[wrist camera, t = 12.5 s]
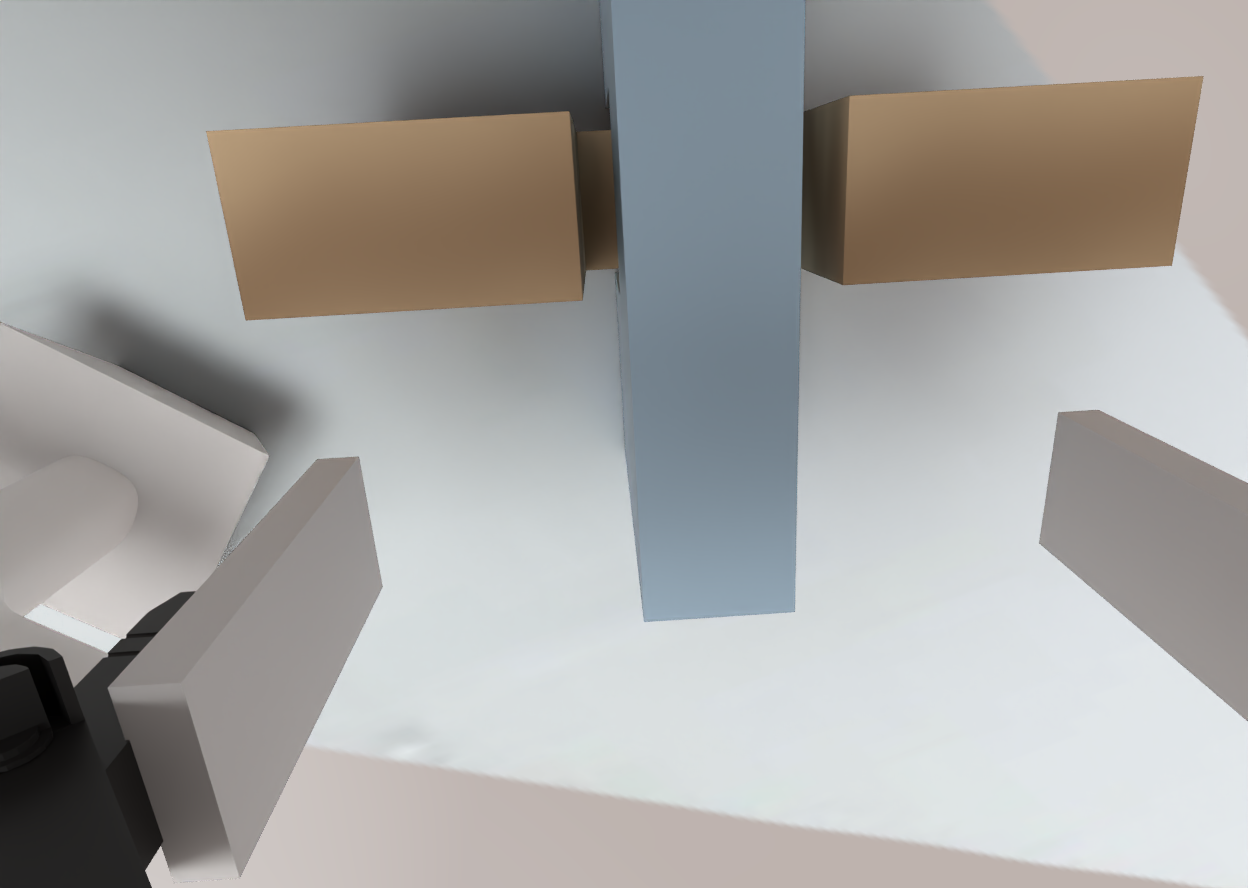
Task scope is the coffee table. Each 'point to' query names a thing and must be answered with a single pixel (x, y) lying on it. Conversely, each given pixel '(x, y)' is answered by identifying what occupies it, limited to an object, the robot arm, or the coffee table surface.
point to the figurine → (106, 494)
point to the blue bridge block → (709, 294)
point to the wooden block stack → (585, 201)
